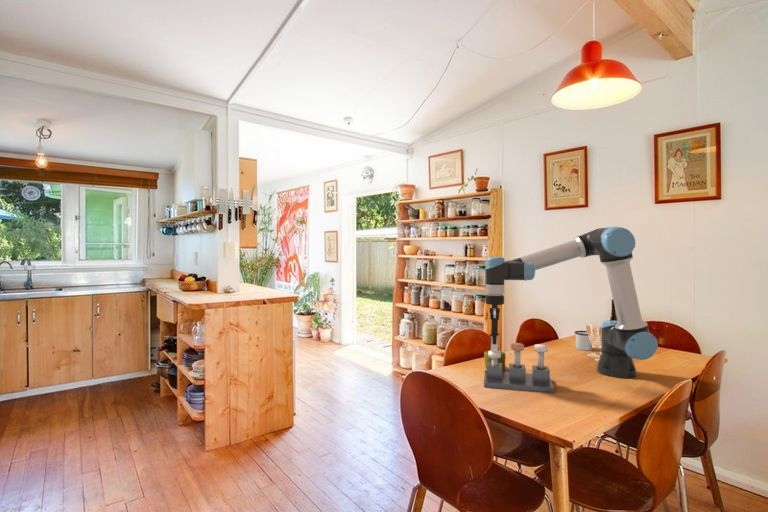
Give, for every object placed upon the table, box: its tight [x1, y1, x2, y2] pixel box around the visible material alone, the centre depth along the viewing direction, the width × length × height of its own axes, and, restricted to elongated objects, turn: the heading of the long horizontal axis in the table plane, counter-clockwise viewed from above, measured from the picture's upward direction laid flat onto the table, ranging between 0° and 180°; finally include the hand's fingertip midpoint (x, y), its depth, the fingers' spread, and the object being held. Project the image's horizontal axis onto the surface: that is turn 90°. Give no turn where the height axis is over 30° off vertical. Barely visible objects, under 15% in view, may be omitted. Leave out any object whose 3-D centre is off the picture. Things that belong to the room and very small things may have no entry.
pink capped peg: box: [510, 342, 525, 368], centre depth 165 cm, size 5×5×10 cm
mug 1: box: [483, 350, 506, 371], centre depth 185 cm, size 12×10×10 cm
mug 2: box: [574, 330, 593, 352], centre depth 221 cm, size 12×10×9 cm
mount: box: [483, 362, 555, 394], centre depth 165 cm, size 26×16×7 cm, turn 75°
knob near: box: [533, 343, 549, 369], centre depth 163 cm, size 5×5×10 cm
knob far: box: [487, 350, 501, 366], centre depth 167 cm, size 5×5×10 cm
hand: (494, 351), depth 167 cm, fingers closed
